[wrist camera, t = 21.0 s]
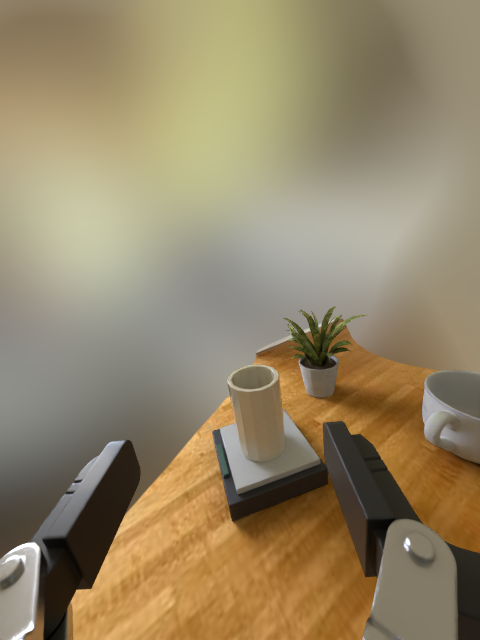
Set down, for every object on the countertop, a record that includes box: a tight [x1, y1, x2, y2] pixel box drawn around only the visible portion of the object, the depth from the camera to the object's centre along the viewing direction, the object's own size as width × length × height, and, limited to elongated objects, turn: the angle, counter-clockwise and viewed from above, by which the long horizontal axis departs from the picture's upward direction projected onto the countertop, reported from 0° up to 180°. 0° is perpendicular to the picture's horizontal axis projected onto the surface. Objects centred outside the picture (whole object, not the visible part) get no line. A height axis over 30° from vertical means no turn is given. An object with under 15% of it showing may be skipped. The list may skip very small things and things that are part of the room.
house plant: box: [284, 307, 366, 398], centre depth 45 cm, size 14×14×16 cm
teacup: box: [422, 370, 480, 464], centre depth 30 cm, size 14×11×8 cm
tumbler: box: [228, 364, 286, 462], centre depth 31 cm, size 6×6×10 cm
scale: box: [212, 409, 328, 521], centre depth 33 cm, size 12×12×3 cm
